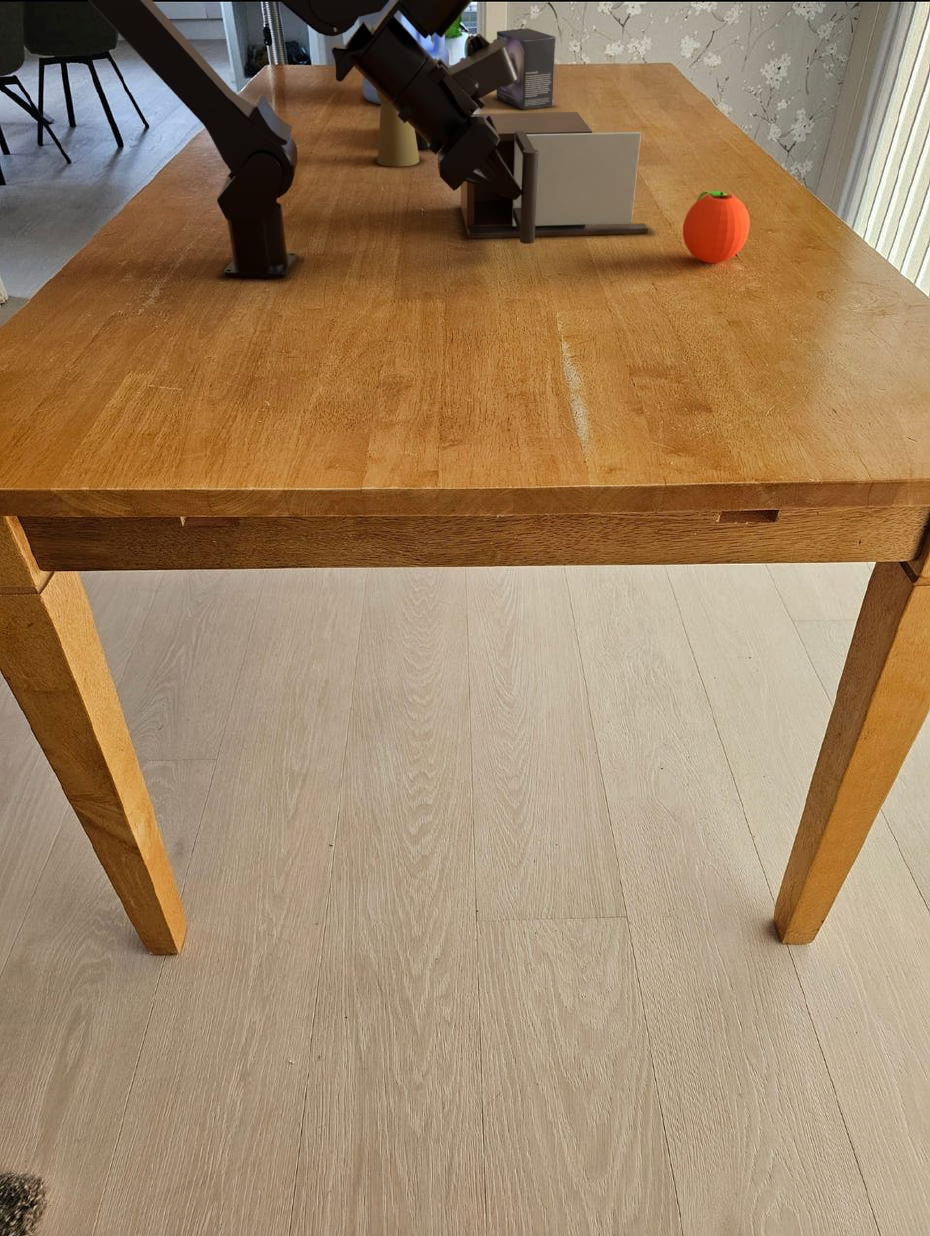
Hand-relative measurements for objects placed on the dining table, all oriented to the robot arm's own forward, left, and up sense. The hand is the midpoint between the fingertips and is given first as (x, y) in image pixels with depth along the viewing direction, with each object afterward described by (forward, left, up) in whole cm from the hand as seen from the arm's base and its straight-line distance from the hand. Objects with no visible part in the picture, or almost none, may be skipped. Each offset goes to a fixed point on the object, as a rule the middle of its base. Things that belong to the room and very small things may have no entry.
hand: (518, 195), depth 98 cm
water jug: (+83, +24, -7) cm, 87 cm away
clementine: (+2, -21, -7) cm, 22 cm away
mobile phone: (+53, +19, -7) cm, 57 cm away
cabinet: (+15, -3, -7) cm, 17 cm away
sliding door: (+6, -7, -6) cm, 10 cm away
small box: (+81, +3, -7) cm, 82 cm away
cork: (+40, +19, -7) cm, 45 cm away
